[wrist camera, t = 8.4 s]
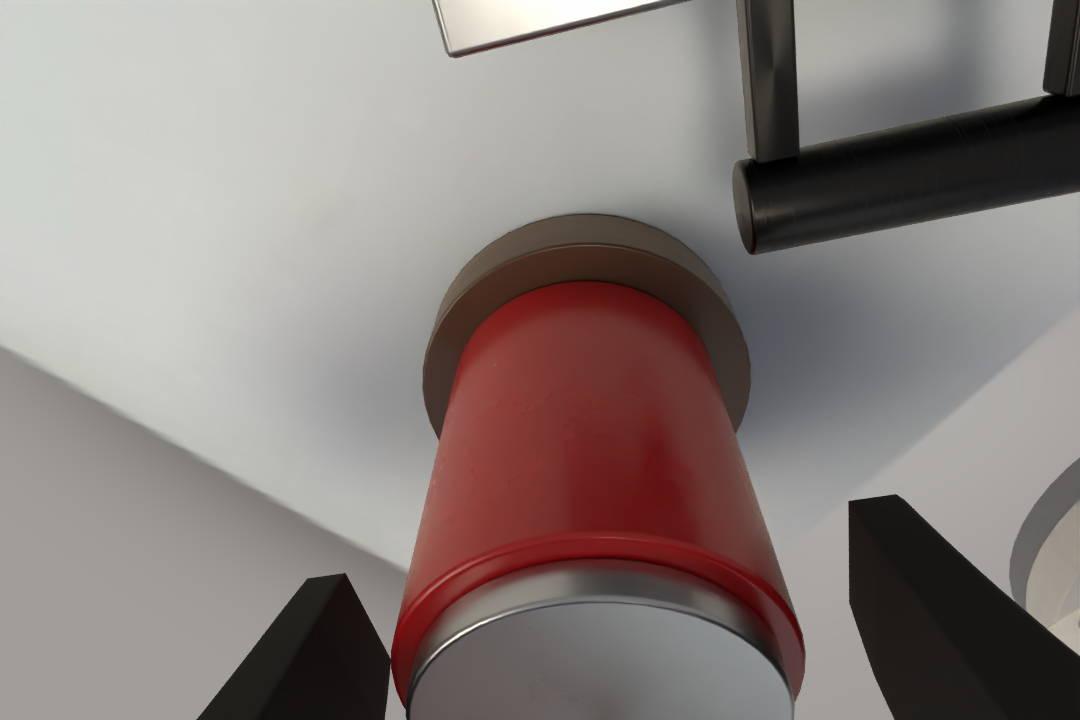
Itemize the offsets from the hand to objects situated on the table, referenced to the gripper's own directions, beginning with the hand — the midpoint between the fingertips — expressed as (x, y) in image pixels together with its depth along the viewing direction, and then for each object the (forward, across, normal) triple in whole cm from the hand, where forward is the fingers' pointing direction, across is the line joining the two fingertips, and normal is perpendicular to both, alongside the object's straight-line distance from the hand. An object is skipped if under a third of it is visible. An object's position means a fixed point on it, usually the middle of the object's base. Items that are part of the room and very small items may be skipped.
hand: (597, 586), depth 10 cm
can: (+5, 0, 0) cm, 5 cm away
